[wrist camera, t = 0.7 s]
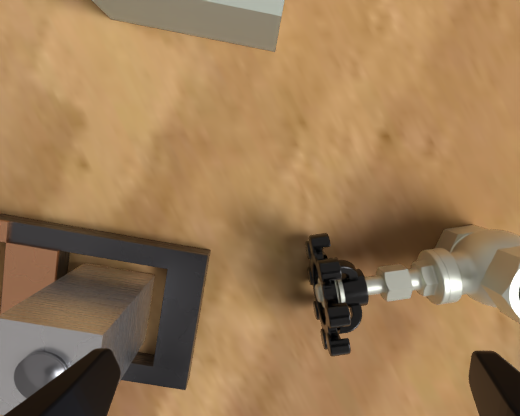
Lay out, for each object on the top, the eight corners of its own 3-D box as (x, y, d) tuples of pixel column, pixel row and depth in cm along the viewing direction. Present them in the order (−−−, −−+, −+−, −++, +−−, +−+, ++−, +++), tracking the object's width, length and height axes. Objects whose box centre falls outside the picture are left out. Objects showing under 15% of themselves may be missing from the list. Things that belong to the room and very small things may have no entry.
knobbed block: (145, 338, 22) (87, 433, 15) (77, 327, 22) (-18, 418, 14) (155, 274, 22) (99, 339, 14) (85, 262, 22) (-11, 321, 14)
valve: (488, 196, 21) (301, 223, 21) (591, 213, 15) (320, 252, 15) (493, 294, 22) (313, 320, 22) (591, 350, 16) (337, 387, 16)
